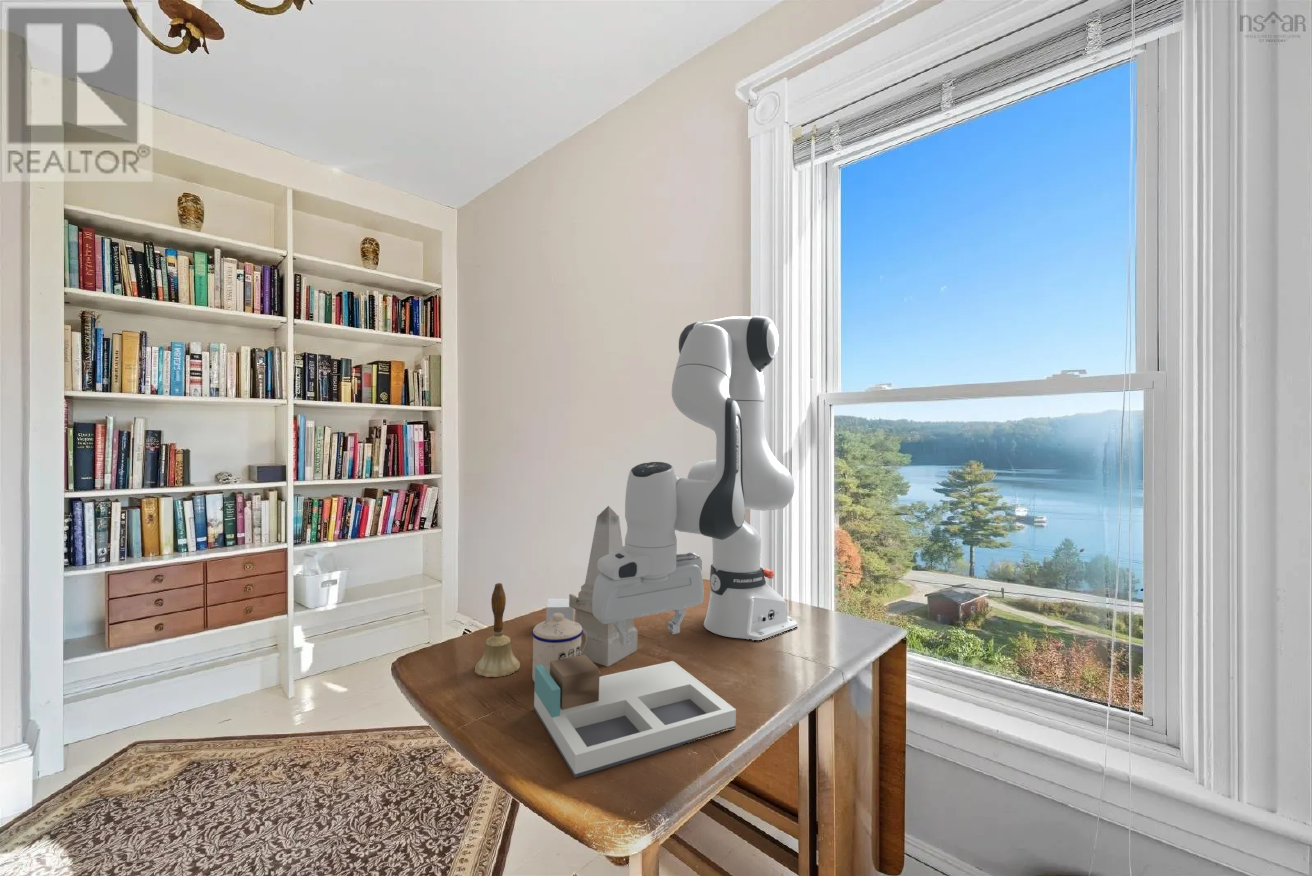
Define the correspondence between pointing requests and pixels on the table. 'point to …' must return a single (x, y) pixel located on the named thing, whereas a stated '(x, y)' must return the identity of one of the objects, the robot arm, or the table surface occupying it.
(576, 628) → the teacup with lid
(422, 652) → the table surface
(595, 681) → the walnut block
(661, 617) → the table surface
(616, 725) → the board
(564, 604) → the white cube
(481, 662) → the hand bell
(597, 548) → the miniature monument
